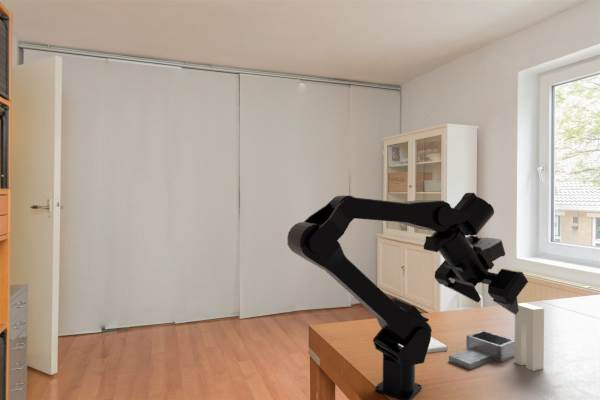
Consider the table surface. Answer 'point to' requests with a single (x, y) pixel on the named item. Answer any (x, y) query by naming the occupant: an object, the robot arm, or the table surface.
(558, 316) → the table surface
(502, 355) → the grey tray with tab
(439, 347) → the external hard drive
